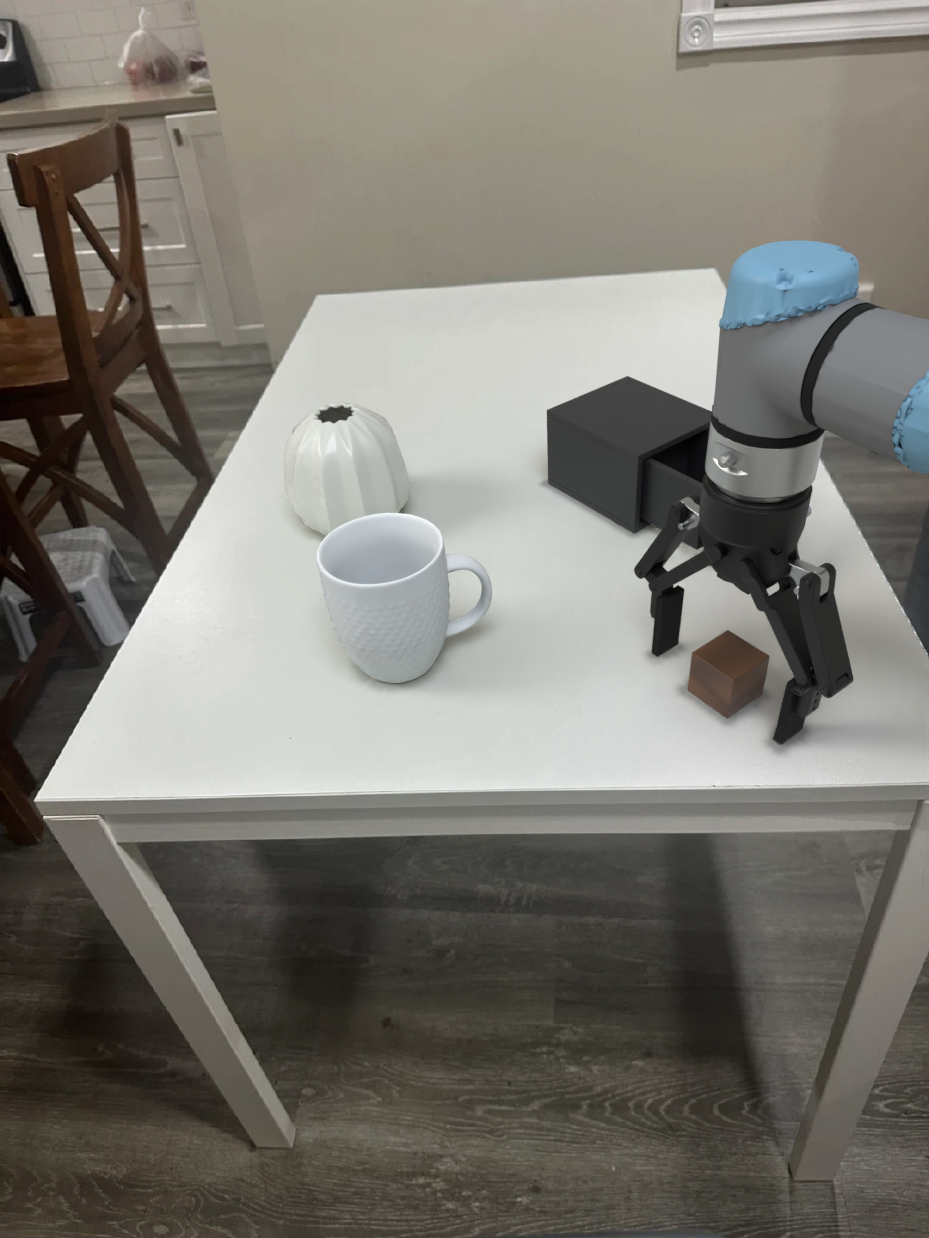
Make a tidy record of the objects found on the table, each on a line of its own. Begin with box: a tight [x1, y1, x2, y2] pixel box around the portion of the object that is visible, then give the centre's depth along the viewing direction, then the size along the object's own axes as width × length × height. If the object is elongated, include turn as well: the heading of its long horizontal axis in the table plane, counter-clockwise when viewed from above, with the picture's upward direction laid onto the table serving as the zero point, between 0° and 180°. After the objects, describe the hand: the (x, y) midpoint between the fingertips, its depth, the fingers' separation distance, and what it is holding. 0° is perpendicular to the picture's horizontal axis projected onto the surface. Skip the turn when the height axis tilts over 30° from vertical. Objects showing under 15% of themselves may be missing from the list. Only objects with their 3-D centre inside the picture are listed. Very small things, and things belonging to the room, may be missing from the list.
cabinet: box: [546, 375, 712, 534], centre depth 99 cm, size 15×13×10 cm
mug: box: [316, 512, 493, 684], centre depth 78 cm, size 15×11×13 cm
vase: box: [283, 401, 411, 537], centre depth 97 cm, size 14×14×13 cm
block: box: [687, 629, 771, 719], centre depth 74 cm, size 4×4×4 cm
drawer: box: [640, 428, 813, 567], centre depth 90 cm, size 18×11×8 cm, turn 36°
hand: (722, 689), depth 75 cm, fingers open, 13 cm apart
